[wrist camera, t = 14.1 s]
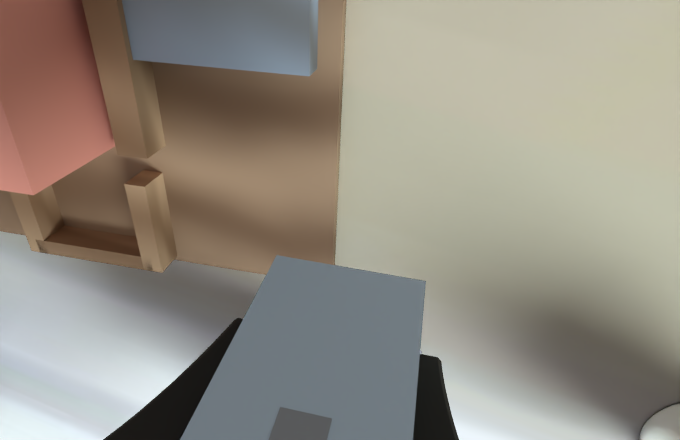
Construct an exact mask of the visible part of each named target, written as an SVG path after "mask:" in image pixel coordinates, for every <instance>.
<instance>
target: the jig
mask: <svg viewBox="0 0 680 440" xmlns="http://www.w3.org/2000/svg"><path fill="white" fill-rule="evenodd" d="M82 3H83V8H84V12H85V16H86V21H87V25H88V29H89V34H90V38H91V42H92V47H93V51H94V55H95V60H96V64H97V68H98V73H99V77H100V81H101V86H102V90H103V94H104V99H105V103H106V107H107V112H108V116H109V120H110V125H111V129H112V133H113V138H114V142H115V147H113V148H112V149H110V150H108V151H107V152H105V153H103V154H102V155H100V156H98V157H97V158H95V159H93V160H92V161H90V162H88V163H87V164H85V165H83V166H82V167H80V168H78V169H77V170H75V171H73V172H72V173H70V174H68V175H67V176H65V177H63V178H62V179H60V180H58V181H57V182H55V183H53V184H52V185H50V186H48V187H47V188H45V189H43V190H42V191H40V192H38V193H37V194H35V195H29V194H22V193H15V192H9V191H2V190H0V231H3V232H9V233H15V234H21V235H26V237H27V240H28V242H29V245H30V248H31V250H32V251H36V252H42V253H48V254H54V255H60V256H66V257H72V258H78V259H83V260H89V261H95V262H101V263H107V264H113V265H119V266H125V267H131V268H137V269H143V270H148V271H154V272H160V273H163V272H164V270H165V269H166V268H167V267H168V266H169V265H170V264H171V262H172V261H173V260H180V261H186V262H192V263H198V264H204V265H210V266H216V267H222V268H228V269H235V270H241V271H247V272H253V273H259V274H265V275H266V274H267V273H268V271H269V269H270V267H271V265H272V263H273V261H274V259H275V257H276V255H279V256H285V257H290V258H296V259H302V260H308V261H313V262H319V263H325V264H331V265H335V248H336V225H337V202H338V179H339V156H340V132H341V109H342V86H343V63H344V40H345V17H346V0H82Z"/></svg>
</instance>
